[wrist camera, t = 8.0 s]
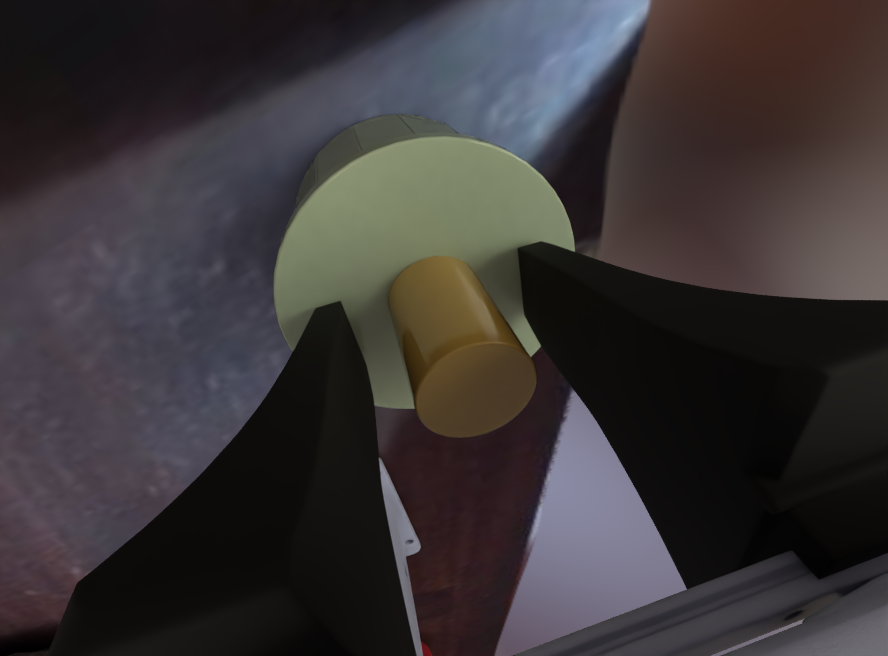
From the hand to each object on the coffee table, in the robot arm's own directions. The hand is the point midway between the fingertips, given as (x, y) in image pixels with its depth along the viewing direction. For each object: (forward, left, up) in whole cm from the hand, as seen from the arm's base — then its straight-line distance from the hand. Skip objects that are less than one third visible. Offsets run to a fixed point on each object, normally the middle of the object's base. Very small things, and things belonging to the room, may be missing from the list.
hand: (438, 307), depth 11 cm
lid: (0, 0, -1) cm, 1 cm away
